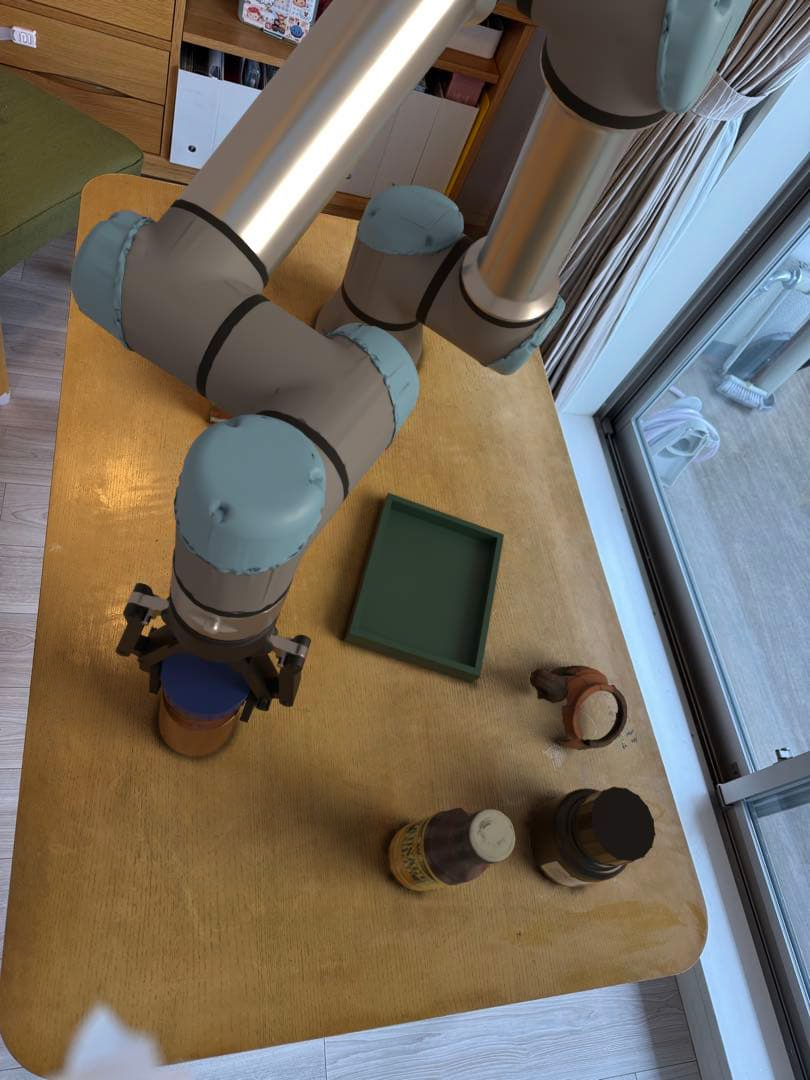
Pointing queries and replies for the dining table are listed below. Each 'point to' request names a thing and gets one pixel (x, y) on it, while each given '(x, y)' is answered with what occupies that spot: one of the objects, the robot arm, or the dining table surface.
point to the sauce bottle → (449, 848)
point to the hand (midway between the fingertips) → (203, 693)
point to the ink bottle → (590, 835)
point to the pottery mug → (578, 701)
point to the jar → (192, 731)
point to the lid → (202, 687)
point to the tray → (427, 589)
